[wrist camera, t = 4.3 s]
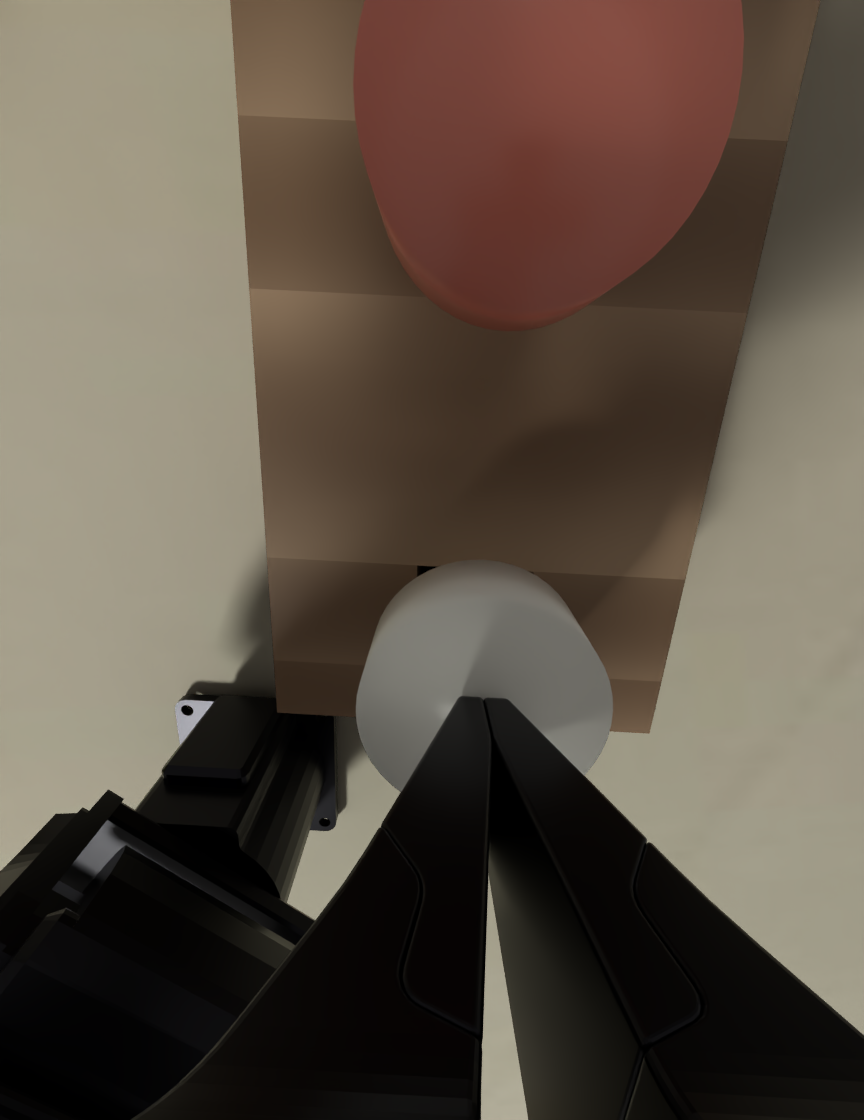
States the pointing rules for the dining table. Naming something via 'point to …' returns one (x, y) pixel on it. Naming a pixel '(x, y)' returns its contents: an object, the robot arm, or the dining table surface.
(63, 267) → the dining table surface
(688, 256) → the walnut plug block
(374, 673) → the grey plug
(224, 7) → the dining table surface
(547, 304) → the salmon round-head knob
